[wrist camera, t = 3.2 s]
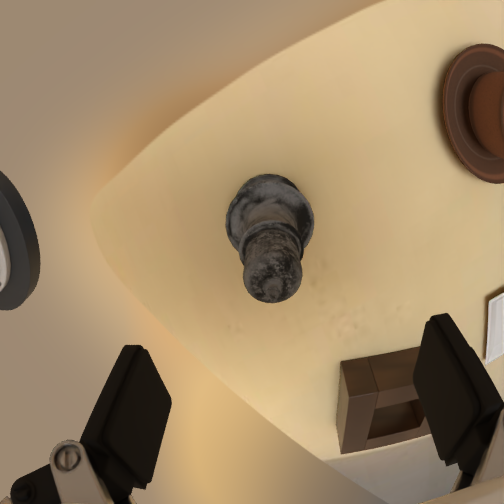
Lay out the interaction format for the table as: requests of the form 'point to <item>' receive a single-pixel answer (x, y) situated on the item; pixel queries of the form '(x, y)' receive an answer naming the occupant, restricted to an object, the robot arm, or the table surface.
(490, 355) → the dessert
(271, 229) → the chess piece
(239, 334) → the table surface
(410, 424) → the holder
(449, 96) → the cup and saucer
